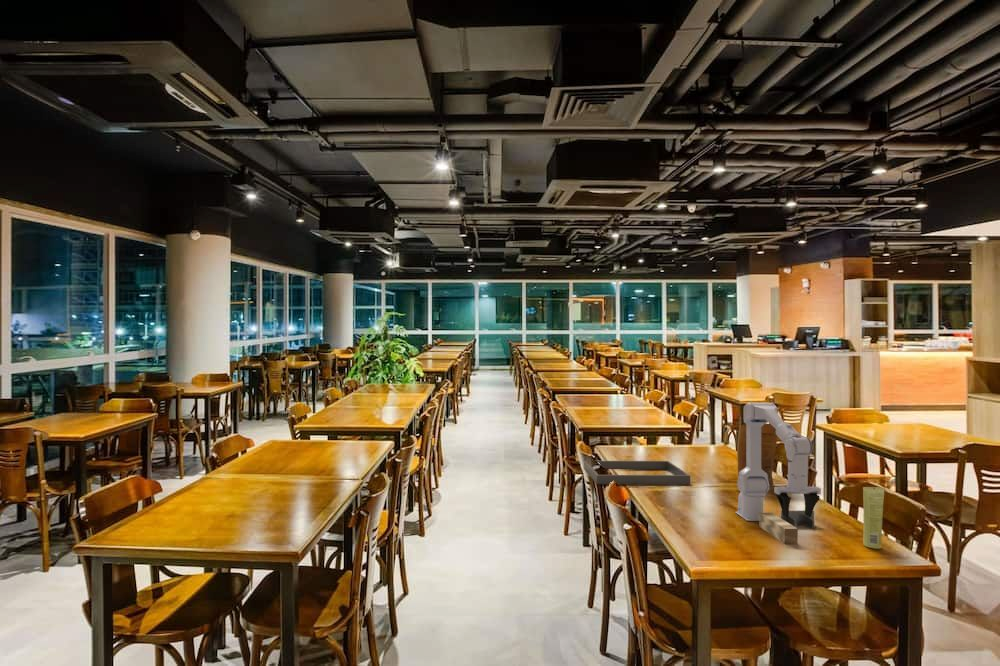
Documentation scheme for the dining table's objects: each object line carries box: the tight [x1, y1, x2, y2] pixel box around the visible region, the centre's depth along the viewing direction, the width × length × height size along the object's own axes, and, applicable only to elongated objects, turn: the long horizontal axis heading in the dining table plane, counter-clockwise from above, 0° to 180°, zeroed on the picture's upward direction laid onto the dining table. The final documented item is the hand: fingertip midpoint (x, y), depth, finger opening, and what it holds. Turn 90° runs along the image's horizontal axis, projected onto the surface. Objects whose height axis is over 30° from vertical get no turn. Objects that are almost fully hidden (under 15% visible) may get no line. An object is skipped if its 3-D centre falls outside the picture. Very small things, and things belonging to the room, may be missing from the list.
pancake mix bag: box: [736, 423, 779, 486], centre depth 258 cm, size 7×19×28 cm, turn 88°
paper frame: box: [583, 460, 691, 485], centre depth 268 cm, size 28×43×4 cm, turn 93°
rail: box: [758, 512, 799, 545], centre depth 194 cm, size 16×4×5 cm, turn 3°
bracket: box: [780, 510, 815, 530], centre depth 202 cm, size 5×12×5 cm, turn 93°
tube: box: [862, 486, 885, 550], centre depth 185 cm, size 6×5×20 cm
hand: (796, 515), depth 183 cm, fingers open, 7 cm apart
